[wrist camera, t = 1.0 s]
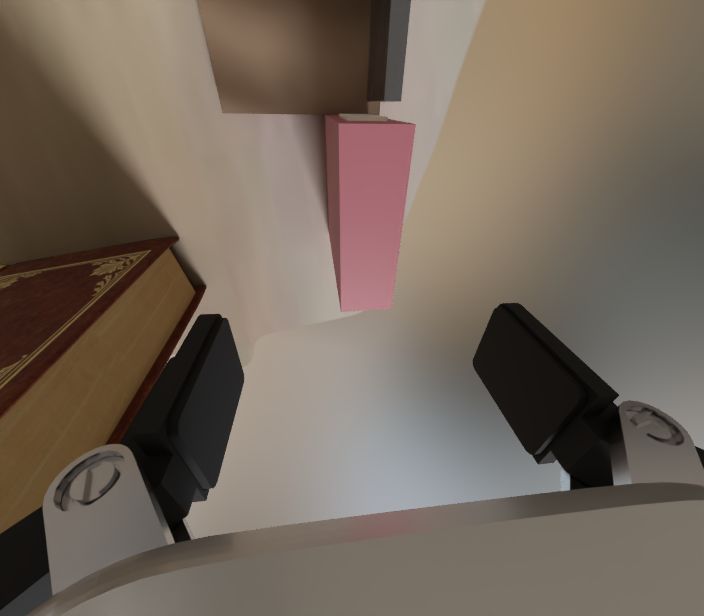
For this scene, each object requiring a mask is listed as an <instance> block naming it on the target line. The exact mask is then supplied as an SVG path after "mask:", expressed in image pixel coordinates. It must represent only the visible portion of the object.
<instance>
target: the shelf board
mask: <svg viewBox="0 0 704 616" xmlns="http://www.w3.org/2000/svg"><path fill="white" fill-rule="evenodd" d="M198 5H199V9H200V14H201V18H202V23H203V27H204V32H205V36H206V41H207V45H208V50H209V54H210V59H211V63H212V68H213V72H214V77H215V81H216V86H217V90H218V95H219V99H220V104H221V108H222V113H253V114H320V115H339V114H372V115H379V112H380V102H367V93H368V67H369V41H370V16H371V0H198Z"/></svg>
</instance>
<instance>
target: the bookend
mask: <svg viewBox="0 0 704 616" xmlns="http://www.w3.org/2000/svg"><path fill="white" fill-rule="evenodd" d="M410 4H411V0H371V16H370V41H369V67H368V93H367V102H394V101H401V94H402V84H403V74H404V64H405V54H406V44H407V34H408V24H409V14H410Z"/></svg>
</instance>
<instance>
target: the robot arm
mask: <svg viewBox="0 0 704 616" xmlns="http://www.w3.org/2000/svg"><path fill="white" fill-rule="evenodd" d="M473 367H474V369H475V371H476V372H477V374H478V375H479V377H480V378H481V380H482V382H483V383H484V385H485V386H486V388H487V390H488V391H489V393H490V394H491V396H492V398H493V399H494V401H495V402H496V404H497V406H498V407H499V409H500V410H501V412H502V414H503V415H504V417H505V418H506V420H507V421H508V423H509V425H510V426H511V428H512V429H513V431H514V433H515V434H516V436H517V437H518V439H519V441H520V442H521V444H522V445H523V447H524V448H525V450H526V451H527V452H528V453H529V454H532V455H533V457H534V459H535V460H536V462H537V463H538V464H546V463H554V462H555V461H556V460H558V462H559V463H560V465H561V491H559V492H551V493H542V494H534V495H525V496H517V497H508V498H500V499H491V500H484V501H475V502H466V503H458V504H451V505H442V506H435V507H426V508H418V509H410V510H401V511H393V512H386V513H377V514H370V515H362V516H354V517H346V518H338V519H330V520H323V521H315V522H307V523H299V524H291V525H283V526H276V527H269V528H263V529H256V530H250V531H242V532H235V533H229V534H222V535H215V536H208V537H203V538H198V539H195V538H194V536H193V534H192V532H191V529H190V527H189V525H188V523H187V521H186V519H185V517H186V516H187V515H188V513H189V510H190V507H191V504H192V502H197V501H205V500H206V499H207V495H208V492H209V488H214V487H215V486H216V483H217V481H218V477H219V473H220V469H221V465H222V462H223V458H224V454H225V451H226V447H227V443H228V440H229V435H230V432H231V428H232V425H233V421H234V417H235V413H236V410H237V406H238V402H239V398H240V395H241V391H242V387H243V383H244V373H243V370H242V366H241V363H240V359H239V356H238V352H237V349H236V346H235V342H234V339H233V335H232V332H231V329H230V325H229V322H228V319H227V318H222V316H221V315H220V314H202V315H199V316H198V318H197V320H196V321H195V323H194V325H193V326H192V328H191V330H190V332H189V333H188V335H187V337H186V338H185V340H184V342H183V344H182V345H181V347H180V349H179V351H178V352H177V354H176V356H175V357H173V358H171V359H170V360H169V361H168V363H167V364H166V366H165V367H164V369H163V371H162V372H161V374H160V376H159V377H158V379H157V381H156V382H155V384H154V386H153V387H152V389H151V391H150V392H149V394H148V396H147V397H146V399H145V401H144V402H143V404H142V406H141V407H140V409H139V411H138V412H137V414H136V416H135V417H134V419H133V421H132V422H131V424H130V426H129V427H128V429H127V431H126V433H125V434H124V436H123V438H122V439H121V441H120V443H119V444H109V445H105V446H101V447H97V448H95V449H93V450H91V451H89V452H87V453H85V454H83V455H82V456H80V457H79V458H77V459H76V460H74V461H73V462H71V463H70V464H69V465H68V466H67V467H66V468H65V469H64V470H62V471H61V472H60V473H59V474H58V476H57V477H56V478H55V479H54V481H53V482H52V483H51V484H50V486H49V488H48V490H47V492H46V494H45V496H44V501H43V506H41V507H40V508H38V509H37V510H35V511H34V512H32V513H31V514H29V515H28V516H26V517H25V518H23V519H22V520H20V521H19V522H17V523H16V524H14V525H13V526H11V527H10V528H8V529H7V530H5V531H4V532H2V533H1V534H0V616H704V450H703V449H700V448H698V447H696V446H694V443H693V441H692V439H691V437H690V435H689V434H688V432H687V431H686V430H685V429H684V428H683V427H682V426H681V425H680V424H679V423H678V422H677V421H676V420H674V419H673V418H672V417H670V416H669V415H667V414H666V413H664V412H662V411H660V410H659V409H657V408H655V407H653V406H650V405H648V404H645V403H641V402H638V401H630V400H629V401H624V402H622V403H621V404H620V405H619V406H618V407H617V406H616V405H615V404H614V403H613V401H614V400H615V399H616V398H617V397H618V396H619V394H618V393H617V392H615V391H614V390H613V389H612V388H611V387H610V386H609V385H608V384H607V383H605V382H604V381H603V380H602V379H601V378H600V377H599V376H598V375H597V374H596V373H595V372H594V371H593V370H591V369H590V368H589V367H588V366H587V365H586V364H585V363H584V362H583V361H582V360H581V359H580V358H578V357H577V356H576V355H575V354H574V353H573V352H572V351H571V350H570V349H569V348H568V347H566V346H565V345H564V344H563V343H562V342H561V341H560V340H559V339H558V338H557V337H556V336H554V335H553V334H552V333H551V332H550V331H549V330H548V329H547V328H546V327H545V326H544V325H543V324H541V323H540V322H539V321H538V320H537V319H536V318H535V317H534V316H533V315H532V314H530V313H529V312H528V311H527V310H526V309H525V308H524V307H523V306H522V305H520V304H519V303H503V304H500V305H499V306H498V307H497V308H495V309H494V311H493V313H492V315H491V318H490V320H489V323H488V325H487V328H486V330H485V332H484V334H483V337H482V339H481V342H480V344H479V346H478V349H477V351H476V354H475V356H474V358H473Z"/></svg>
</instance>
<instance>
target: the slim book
mask: <svg viewBox="0 0 704 616" xmlns="http://www.w3.org/2000/svg"><path fill="white" fill-rule="evenodd" d="M415 125H416V124H411V123H406V122H401V121H396V120H391V119H388V117H384V116H378V115H372V114H339V115H325V139H326V165H327V192H328V219H329V236H330V243H331V249H332V256H333V262H334V269H335V275H336V282H337V289H338V295H339V302H340V308H341V312H344V311H360V310H375V309H390V308H392V301H393V293H394V286H395V278H396V270H397V263H398V255H399V247H400V239H401V232H402V225H403V217H404V209H405V202H406V194H407V186H408V179H409V171H410V163H411V156H412V148H413V140H414V133H415Z"/></svg>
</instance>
